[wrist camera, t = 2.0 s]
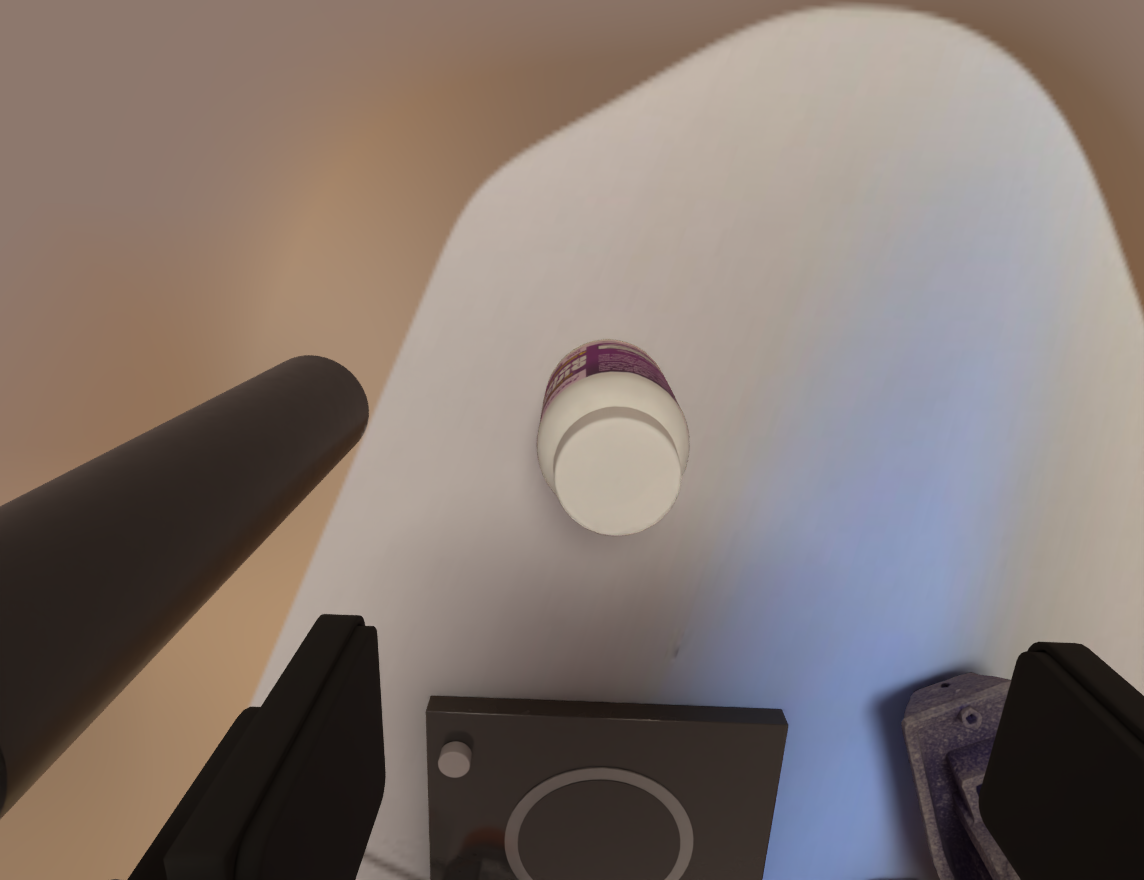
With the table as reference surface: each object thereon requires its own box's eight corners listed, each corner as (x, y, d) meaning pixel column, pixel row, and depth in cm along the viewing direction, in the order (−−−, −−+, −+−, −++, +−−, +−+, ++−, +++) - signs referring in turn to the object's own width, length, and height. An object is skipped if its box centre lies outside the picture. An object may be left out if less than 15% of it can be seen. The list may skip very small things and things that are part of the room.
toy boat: (847, 681, 35) (996, 939, 23) (1001, 624, 34) (1246, 862, 21) (930, 883, 39) (1095, 1195, 27) (1070, 838, 38) (1308, 1141, 26)
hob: (436, 924, 40) (429, 960, 38) (430, 695, 35) (422, 722, 33) (744, 936, 40) (753, 971, 39) (782, 708, 36) (793, 736, 34)
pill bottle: (558, 324, 29) (551, 375, 20) (679, 351, 30) (726, 413, 21) (533, 442, 31) (516, 538, 22) (648, 466, 31) (679, 570, 22)
